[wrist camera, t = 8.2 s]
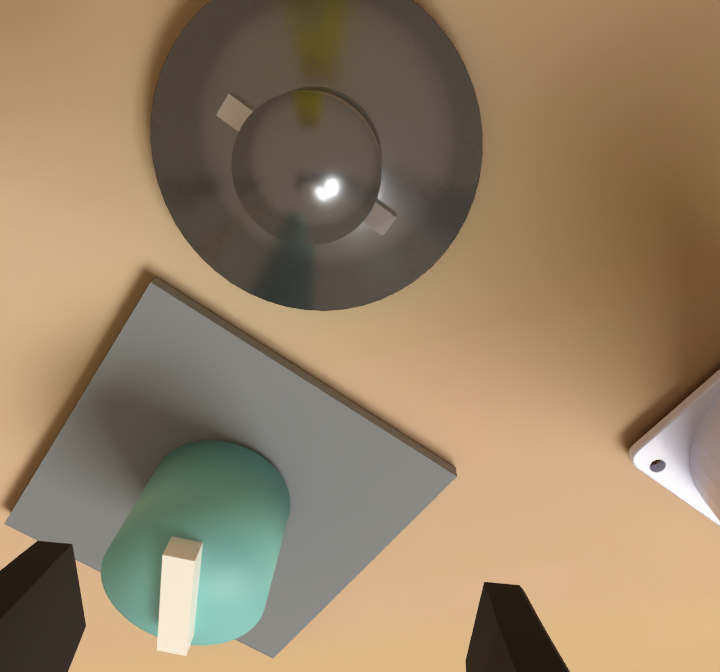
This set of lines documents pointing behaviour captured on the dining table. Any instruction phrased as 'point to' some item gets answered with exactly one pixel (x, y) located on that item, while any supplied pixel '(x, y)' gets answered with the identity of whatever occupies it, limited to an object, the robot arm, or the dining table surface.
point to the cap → (199, 546)
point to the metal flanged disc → (316, 146)
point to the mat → (239, 426)
